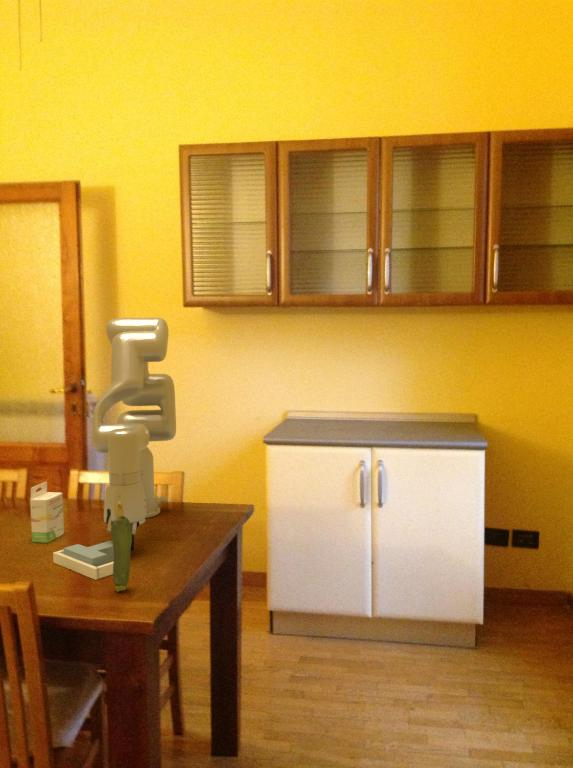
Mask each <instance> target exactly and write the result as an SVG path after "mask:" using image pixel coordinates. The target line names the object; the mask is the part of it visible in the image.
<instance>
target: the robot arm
mask: <svg viewBox="0 0 573 768" xmlns="http://www.w3.org/2000/svg"><path fill="white" fill-rule="evenodd" d="M105 331H106V336H107V339H108V340H109V341H108V342H109V343H110V345H111V357H110V359H111V360H110V361H111V366H110V367H111V368H110V386H109V387H108V389H107V390H106V391H105V392H104V393H103V394H102V395H101V396H100V397H99V399H98V401H97V402H96V404H95V406H94V408H93V412H92V423H91V444H92V447H93V449H94V450H95V451H96V452H97V453H100V454H107V458H108V479H109V480H108V481H109V484H107V485H106V487H105V491H104V493H105V494H104V500H103V501H104V502H103V521H104V524H107V526H106V527H107V528H106V530H107V532H110V533H111V525H112V523H113V521H114V519H115V518H116V516H115V513H114V512H115V508H116V506H117V503H118V502H120V501H122V503H121V504H122V506H123V510H124V517H126V518H127V519H128V520H129V521H130V524H131V528H132V544H131V551H134V550H135V535H136V533H137V529H138V528H139V526H140V525H142V524H144V523H145V522H146V518H147V519H149V518H153V517H155V516H158V515H159V514H160V513H161V508H160V506H159V505H161V504H163V503H167V502H168V496H167V495H164V496H160V497H159V496H156V495H155V468H154V467H155V466H154V455H153V452H152V451H151V449H150V448H149V447H148V446H149V445H150V444H149V443H150V442H166V441H171V440H173V439H174V438H175V437H176V433H177V413H176V393H175V392H176V391H175V383H174V380H173V378H172V377H171V376H170V375H169V374H167V373H166V374H165V373H150V371H149V363H155V362H156V363H157V362H160V363H161V362H163V361H164V360H165V358H166V356H167V351H168V341H169V325H168V323H167V321H166V320H165V319H164V318H163V317H119V318H112V319H111V320H109V321H108V322H107V323H106V325H105ZM120 402H122V403H123V404H124V405H126V406H129V407H149V406H151V407H154V406H156V407H157V406H158V407H159V409H135V410H134V409H133V410H131V409H130V410H127V411H124V412H121V413H120V414H119V415H118V417H117V419H116V423H104V422H105V416H106V414H107V412H108V411H109V410H110V409H111V408H113V406H115V405H116V404H118V403H120Z"/></svg>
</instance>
